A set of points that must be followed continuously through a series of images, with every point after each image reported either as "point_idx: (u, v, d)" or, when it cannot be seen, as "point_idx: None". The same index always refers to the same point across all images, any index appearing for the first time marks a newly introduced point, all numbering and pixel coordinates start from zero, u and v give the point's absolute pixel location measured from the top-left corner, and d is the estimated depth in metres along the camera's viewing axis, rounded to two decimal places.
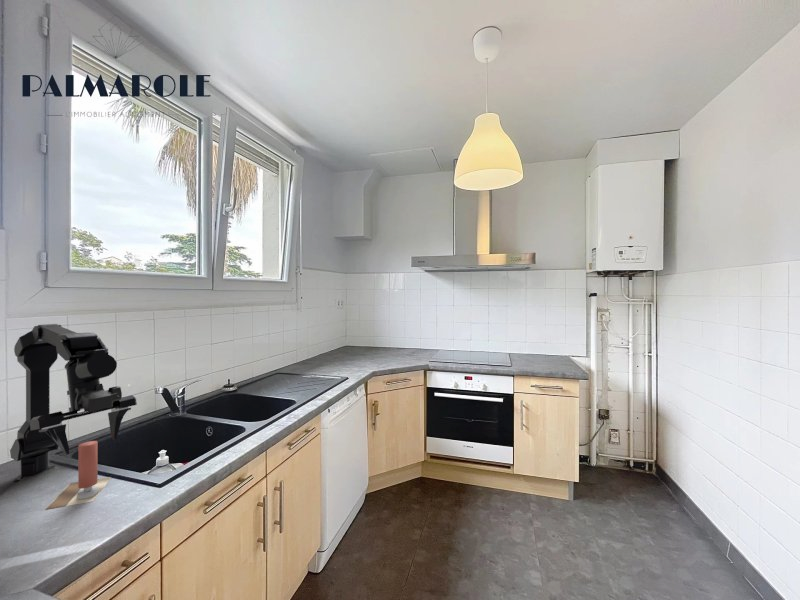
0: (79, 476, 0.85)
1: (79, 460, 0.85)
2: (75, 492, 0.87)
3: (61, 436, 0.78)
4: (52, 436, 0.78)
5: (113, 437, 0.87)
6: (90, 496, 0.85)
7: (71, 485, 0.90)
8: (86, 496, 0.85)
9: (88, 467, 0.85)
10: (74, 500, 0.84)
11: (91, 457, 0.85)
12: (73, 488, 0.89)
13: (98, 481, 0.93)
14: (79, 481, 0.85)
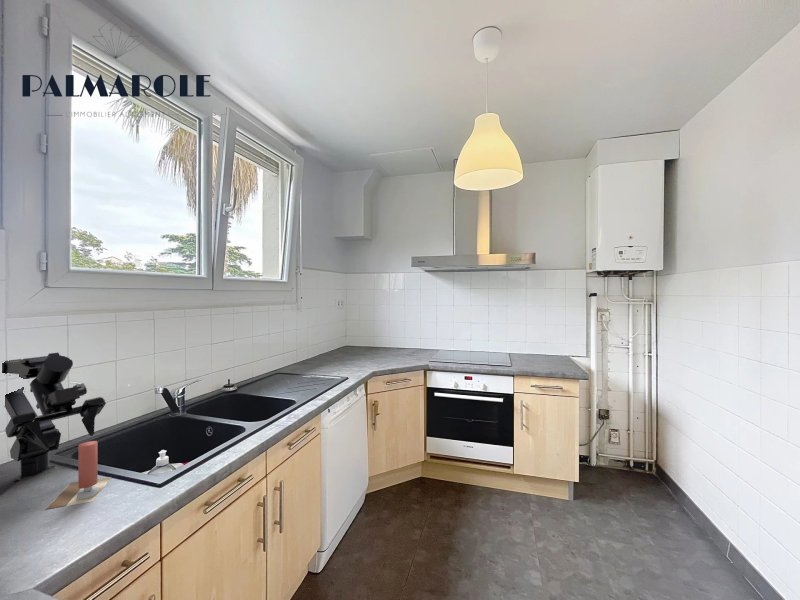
0: (79, 476, 0.85)
1: (79, 460, 0.85)
2: (75, 492, 0.87)
3: (37, 432, 0.85)
4: (29, 438, 0.85)
5: (90, 433, 0.94)
6: (90, 496, 0.85)
7: (71, 485, 0.90)
8: (86, 496, 0.85)
9: (88, 467, 0.85)
10: (74, 500, 0.84)
11: (91, 457, 0.85)
12: (73, 488, 0.89)
13: (98, 481, 0.93)
14: (79, 481, 0.85)
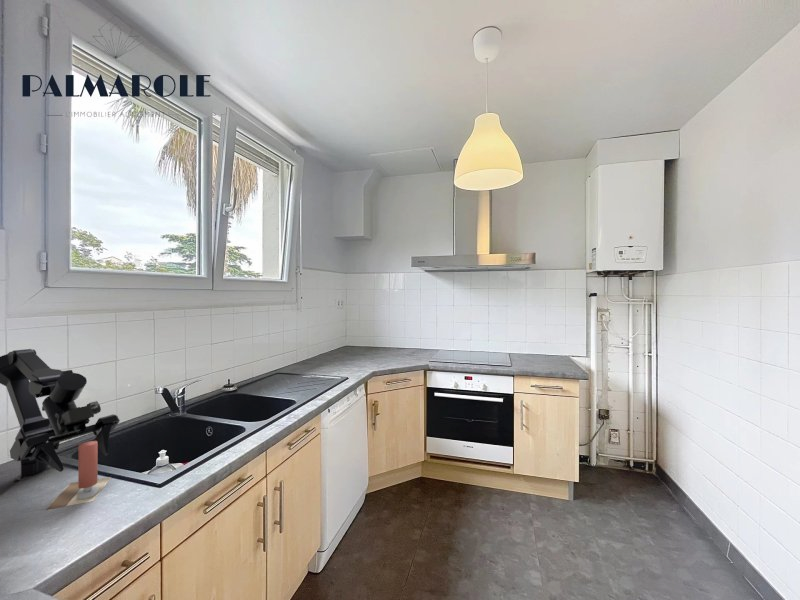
0: (79, 476, 0.85)
1: (79, 460, 0.85)
2: (75, 492, 0.87)
3: (51, 454, 0.82)
4: (43, 460, 0.83)
5: (105, 452, 0.91)
6: (90, 496, 0.85)
7: (71, 485, 0.90)
8: (86, 496, 0.85)
9: (88, 467, 0.85)
10: (74, 500, 0.84)
11: (91, 457, 0.85)
12: (73, 488, 0.89)
13: (98, 481, 0.93)
14: (79, 481, 0.85)
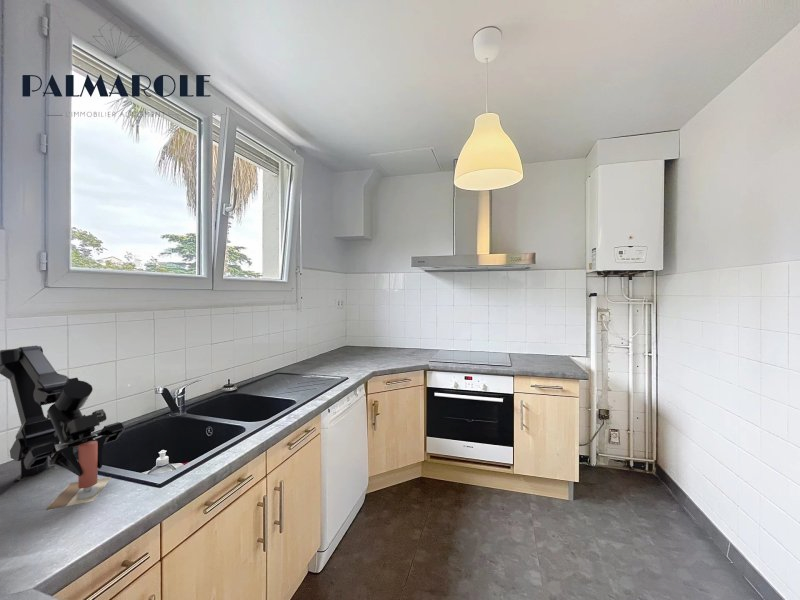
0: (79, 476, 0.85)
1: (79, 460, 0.85)
2: (75, 492, 0.87)
3: (71, 458, 0.84)
4: (63, 464, 0.84)
5: (98, 466, 0.88)
6: (90, 496, 0.85)
7: (71, 485, 0.90)
8: (86, 496, 0.85)
9: (88, 467, 0.85)
10: (74, 500, 0.84)
11: (91, 457, 0.85)
12: (73, 488, 0.89)
13: (98, 481, 0.93)
14: (79, 481, 0.85)
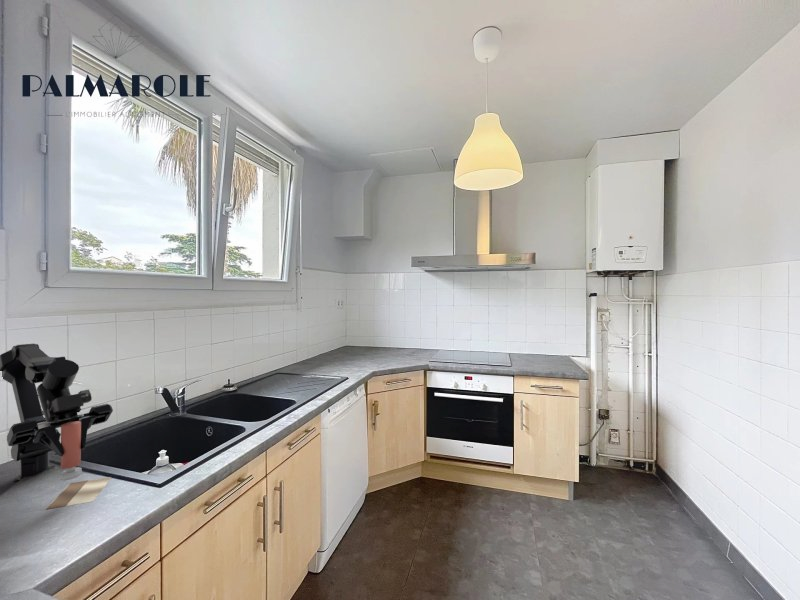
0: (61, 456, 0.83)
1: (61, 440, 0.83)
2: (75, 492, 0.87)
3: (53, 438, 0.83)
4: (46, 443, 0.83)
5: (81, 446, 0.86)
6: (72, 477, 0.84)
7: (71, 485, 0.90)
8: (67, 477, 0.83)
9: (69, 447, 0.84)
10: (74, 500, 0.84)
11: (73, 437, 0.84)
12: (73, 488, 0.89)
13: (98, 481, 0.93)
14: (61, 461, 0.83)
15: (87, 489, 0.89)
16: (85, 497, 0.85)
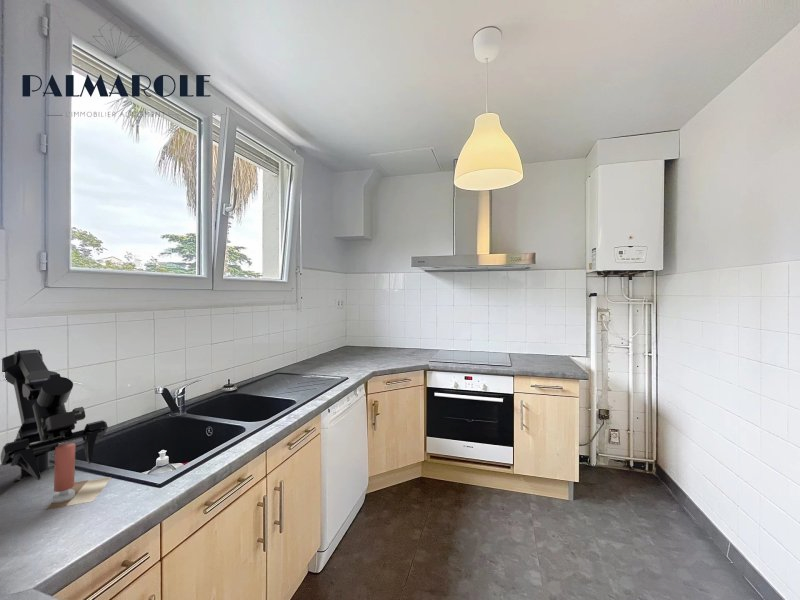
0: (54, 479, 0.83)
1: (55, 462, 0.83)
2: (75, 492, 0.87)
3: (30, 461, 0.80)
4: (24, 467, 0.81)
5: (88, 461, 0.88)
6: (64, 500, 0.83)
7: None
8: (60, 500, 0.83)
9: (63, 470, 0.83)
10: (74, 500, 0.84)
11: (66, 460, 0.83)
12: (73, 488, 0.89)
13: (98, 481, 0.93)
14: (54, 484, 0.83)
15: (87, 489, 0.89)
16: (85, 497, 0.85)
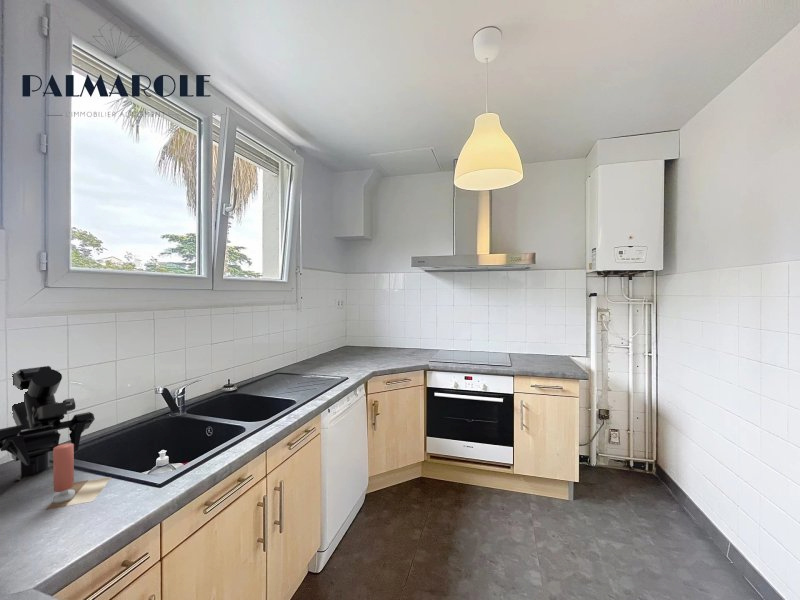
0: (54, 479, 0.83)
1: (53, 463, 0.83)
2: (75, 492, 0.87)
3: (20, 447, 0.85)
4: (13, 452, 0.86)
5: (74, 450, 0.93)
6: (64, 500, 0.83)
7: None
8: (60, 500, 0.83)
9: (61, 470, 0.83)
10: (74, 500, 0.84)
11: (65, 460, 0.83)
12: (73, 488, 0.89)
13: (98, 481, 0.93)
14: (54, 484, 0.83)
15: (87, 489, 0.89)
16: (85, 497, 0.85)
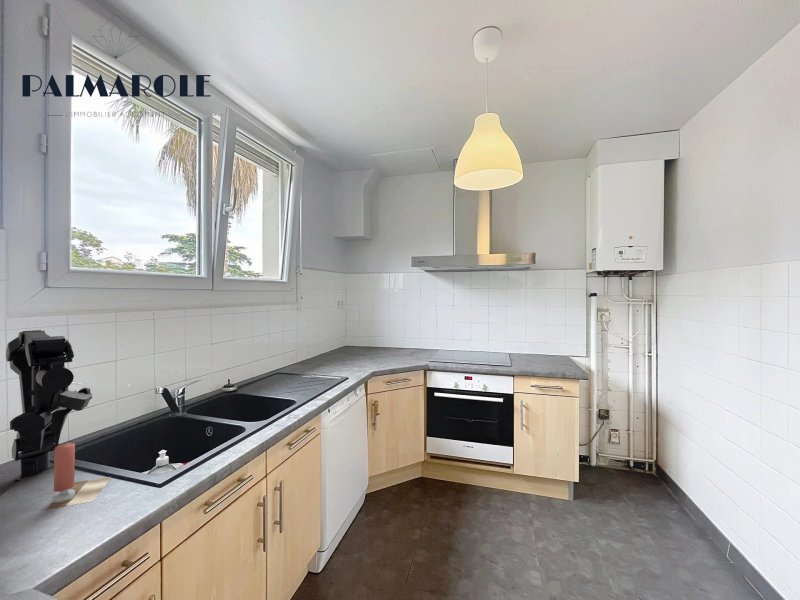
0: (54, 479, 0.83)
1: (54, 462, 0.83)
2: (75, 492, 0.87)
3: (42, 433, 0.85)
4: (25, 434, 0.83)
5: (57, 434, 0.94)
6: (64, 500, 0.83)
7: None
8: (60, 500, 0.83)
9: (62, 470, 0.83)
10: (74, 500, 0.84)
11: (66, 460, 0.84)
12: (73, 488, 0.89)
13: (98, 481, 0.93)
14: (54, 484, 0.83)
15: (87, 489, 0.89)
16: (85, 497, 0.85)
